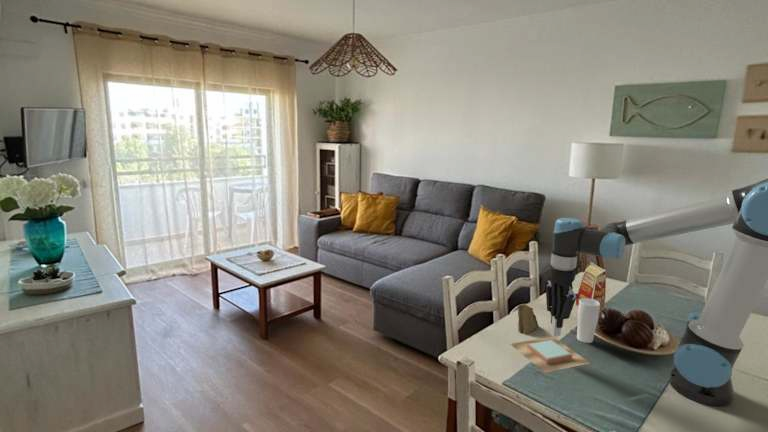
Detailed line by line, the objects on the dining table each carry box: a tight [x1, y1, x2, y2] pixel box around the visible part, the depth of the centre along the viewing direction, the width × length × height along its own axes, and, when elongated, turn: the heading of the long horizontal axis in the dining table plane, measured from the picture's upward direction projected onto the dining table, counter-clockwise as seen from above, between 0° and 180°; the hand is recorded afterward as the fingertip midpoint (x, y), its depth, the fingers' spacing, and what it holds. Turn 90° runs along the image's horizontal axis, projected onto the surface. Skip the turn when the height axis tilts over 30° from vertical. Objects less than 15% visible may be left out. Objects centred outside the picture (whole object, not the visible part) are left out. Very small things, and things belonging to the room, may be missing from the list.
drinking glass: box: [576, 298, 600, 344], centre depth 148 cm, size 7×7×15 cm
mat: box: [510, 336, 591, 374], centre depth 140 cm, size 18×18×1 cm
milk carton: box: [573, 261, 607, 313], centre depth 174 cm, size 9×9×20 cm
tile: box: [527, 340, 572, 364], centre depth 140 cm, size 2×10×10 cm
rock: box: [517, 304, 539, 335], centre depth 156 cm, size 11×9×10 cm
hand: (555, 334), depth 136 cm, fingers closed
